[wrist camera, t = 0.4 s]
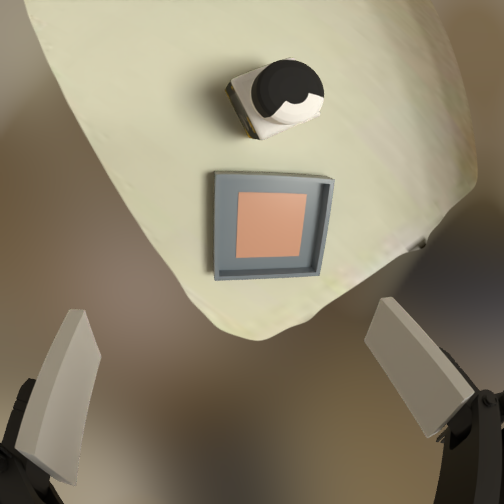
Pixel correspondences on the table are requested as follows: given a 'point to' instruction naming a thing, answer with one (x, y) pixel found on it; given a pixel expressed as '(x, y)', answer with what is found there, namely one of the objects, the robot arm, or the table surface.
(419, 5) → the table surface
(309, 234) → the tray
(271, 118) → the medicine bottle
